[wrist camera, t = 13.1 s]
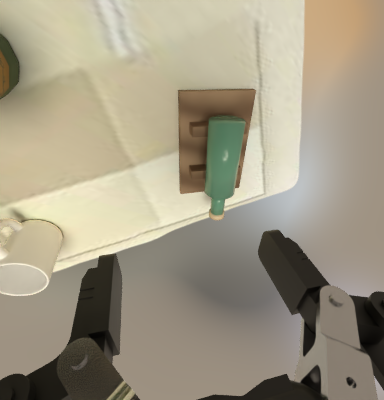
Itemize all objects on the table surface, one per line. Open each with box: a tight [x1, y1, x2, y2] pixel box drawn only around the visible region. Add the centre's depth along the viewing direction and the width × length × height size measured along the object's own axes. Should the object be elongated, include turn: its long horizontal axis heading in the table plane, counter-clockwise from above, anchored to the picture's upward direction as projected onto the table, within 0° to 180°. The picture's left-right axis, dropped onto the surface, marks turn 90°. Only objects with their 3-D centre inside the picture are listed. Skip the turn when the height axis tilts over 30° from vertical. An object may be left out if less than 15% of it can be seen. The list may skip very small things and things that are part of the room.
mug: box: [0, 218, 63, 296], centre depth 37 cm, size 12×8×10 cm
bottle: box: [204, 115, 246, 220], centre depth 37 cm, size 18×5×5 cm, turn 179°
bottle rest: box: [178, 89, 256, 194], centre depth 38 cm, size 18×12×4 cm, turn 179°
